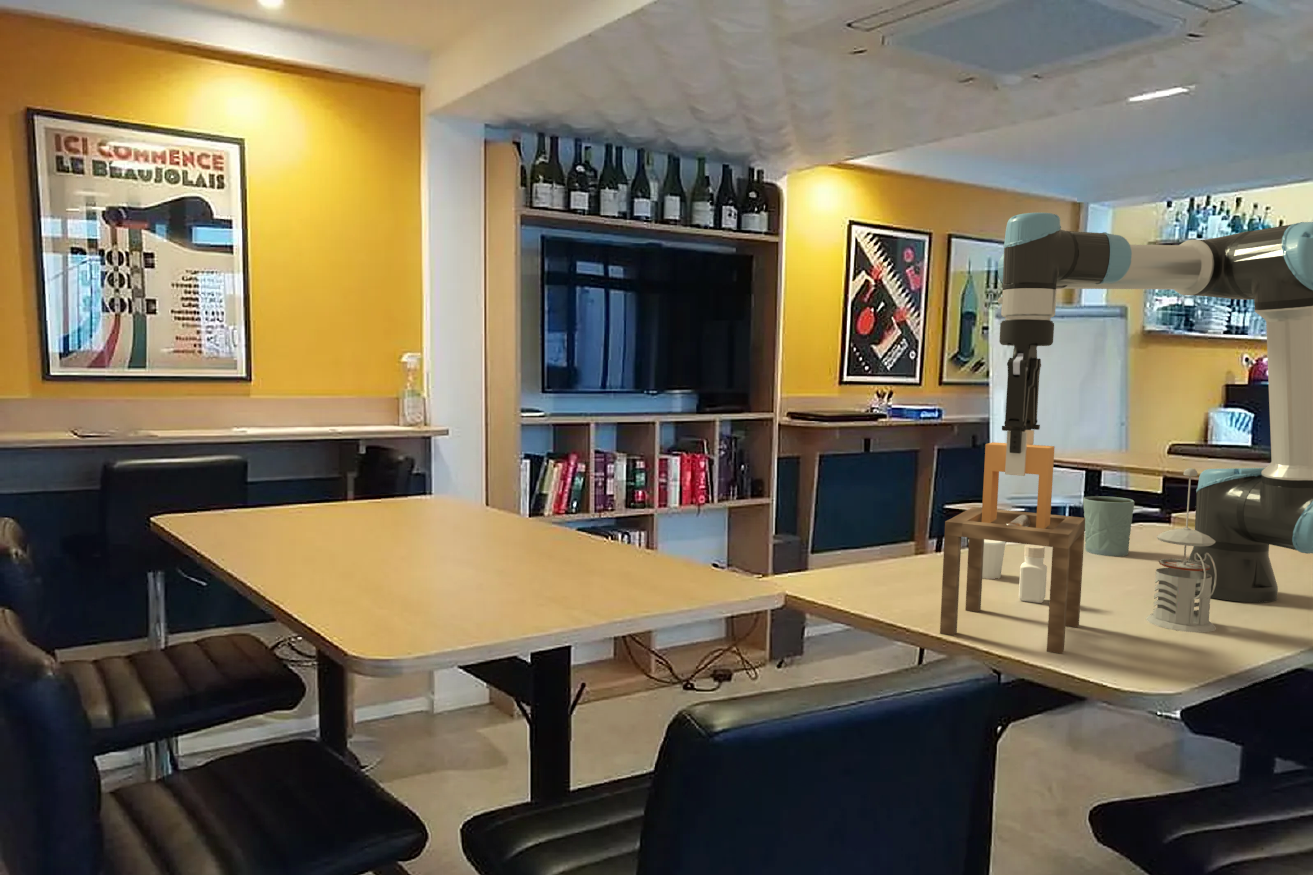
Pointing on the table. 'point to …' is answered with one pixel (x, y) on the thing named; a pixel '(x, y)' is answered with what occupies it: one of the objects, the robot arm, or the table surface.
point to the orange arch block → (1036, 463)
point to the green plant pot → (1107, 525)
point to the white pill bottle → (1033, 575)
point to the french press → (1184, 582)
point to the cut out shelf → (1021, 529)
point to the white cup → (992, 558)
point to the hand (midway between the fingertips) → (1018, 473)
